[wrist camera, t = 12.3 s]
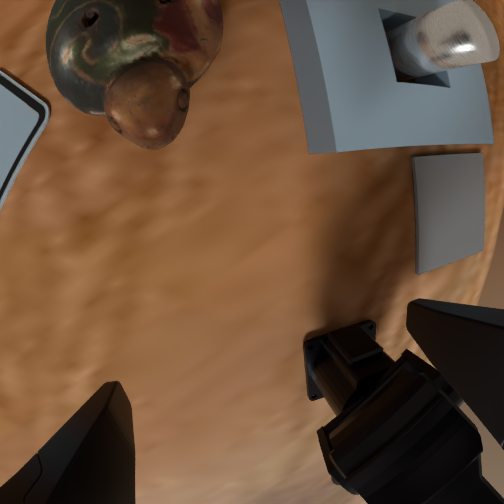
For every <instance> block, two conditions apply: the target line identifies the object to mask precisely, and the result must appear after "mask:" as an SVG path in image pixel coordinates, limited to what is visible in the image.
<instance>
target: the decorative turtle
mask: <svg viewBox="0 0 504 504" xmlns="http://www.w3.org/2000/svg"><path fill="white" fill-rule="evenodd" d="M222 33H223V21H222V13H221V7H220V2H219V0H56V1H55V3H54V6H53V8H52V10H51V13H50V17H49V20H48V25H47V31H46V53H47V59H48V65H49V70H50V73H51V76H52V78H53V80H54V83H55V85H56V87H57V89H58V90H59V92H60V93H61V94H62V96H63V97H64V98H65V99H66V100H67V101H68V102H69V103H70V104H71V105H72V106H74V107H75V108H77V109H78V110H80V111H82V112H84V113H87V114H91V115H96V116H104V117H107V118H108V120H109V122H110V124H111V125H112V126H113V128H114V129H115V130H116V131H117V132H118V133H120V134H121V135H122V136H124V137H125V138H127V139H128V140H130V141H131V142H133V143H135V144H136V145H138V146H140V147H142V148H145V149H150V150H156V149H160V148H163V147H165V146H166V145H168V144H169V143H171V142H172V141H173V140H174V139H175V138H176V137H177V135H178V134H179V132H180V131H181V129H182V127H183V125H184V122H185V119H186V116H187V112H188V108H189V98H190V89H189V88H190V87H191V86H192V85H193V84H194V83H195V82H197V81H198V79H199V78H200V77H201V76H202V75H203V74H204V72H205V71H206V70H207V69H208V68H209V66H210V65H211V63H212V62H213V60H214V59H215V57H216V55H217V53H218V51H219V49H220V45H221V41H222Z"/></svg>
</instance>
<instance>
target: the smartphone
mask: <svg viewBox="0 0 504 504" xmlns="http://www.w3.org/2000/svg"><path fill="white" fill-rule="evenodd" d="M49 119H50V108H49V106H48V105H47V104H46V103H45V102H44V101H42V100H41V99H39V98H38V97H37V96H35V95H34V94H33V93H31V92H30V91H28V90H27V89H25V88H24V87H23V86H21V85H20V84H19V83H17V82H16V81H15V80H13V79H12V78H10V77H9V76H8V75H6V74H5V73H3V72H1V71H0V211H1V209H2V207H3V204H4V202H5V200H6V198H7V196H8V194H9V192H10V189H11V187H12V185H13V183H14V181H15V179H16V177H17V175H18V174H19V172H20V170H21V168H22V166H23V164H24V162H25V160H26V159H27V157H28V155H29V153H30V152H31V150H32V148H33V146H34V145H35V143H36V141H37V140H38V138H39V136H40V135H41V133H42V131H43V130H44V128H45V127H46V125H47V123H48V122H49Z"/></svg>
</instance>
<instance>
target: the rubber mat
mask: <svg viewBox="0 0 504 504" xmlns="http://www.w3.org/2000/svg"><path fill="white" fill-rule="evenodd" d="M411 159H412V170H413V182H414V197H415V218H416V274H417V275H420V274H423V273H425V272H428V271H431V270H434V269H436V268H439V267H442V266H445V265H447V264H450V263H453V262H455V261H458V260H460V259H463V258H466V257H468V256H471V255H473V254H476V253H478V252H481V251H483V250H484V232H485V179H484V161H483V153H464V154H446V155H431V156H418V157H411Z"/></svg>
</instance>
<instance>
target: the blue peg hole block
mask: <svg viewBox="0 0 504 504" xmlns="http://www.w3.org/2000/svg"><path fill="white" fill-rule="evenodd" d="M279 1H280V5H281V9H282V13H283V18H284V22H285V26H286V31H287V35H288V40H289V44H290V49H291V54H292V59H293V64H294V69H295V74H296V79H297V84H298V90H299V95H300V100H301V106H302V112H303V118H304V124H305V130H306V136H307V142H308V149H309V154H316V153H333V152H344V151H354V150H364V149H376V148H389V147H403V146H421V145H445V144H494V137H493V128H492V121H491V113H490V107H489V101H488V95H487V90H486V85H485V80H484V75H483V71H482V66H481V63H479V64H474V65H469V66H464V67H460V68H455V69H451V70H446V71H442V72H438V73H434V74H430V75H426V76H422V77H418V78H414V80H415V84H414V83H403V82H397V81H396V76H395V72H394V67H393V63H392V58H391V54H390V50H389V46H388V42H387V38H386V35H385V32H388V31H390V30H392V29H394V28H396V27H398V26H400V25H402V24H404V23H406V22H409V21H411V20H413V19H415V18H417V17H419V16H421V15H424V14H426V13H428V12H430V11H433V10H435V9H437V8H440V7H442V6H444V5H447V4H449V3H452V2H454V1H457V0H279Z"/></svg>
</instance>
